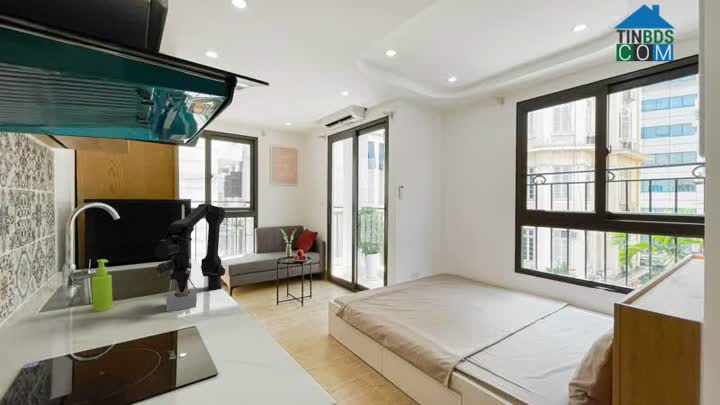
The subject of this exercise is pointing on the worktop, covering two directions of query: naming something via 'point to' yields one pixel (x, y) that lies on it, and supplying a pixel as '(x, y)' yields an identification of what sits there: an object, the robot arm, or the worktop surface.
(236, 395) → the worktop surface
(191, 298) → the grey square socket block
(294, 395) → the worktop surface
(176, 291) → the tan rectangular block
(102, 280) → the soap dispenser
